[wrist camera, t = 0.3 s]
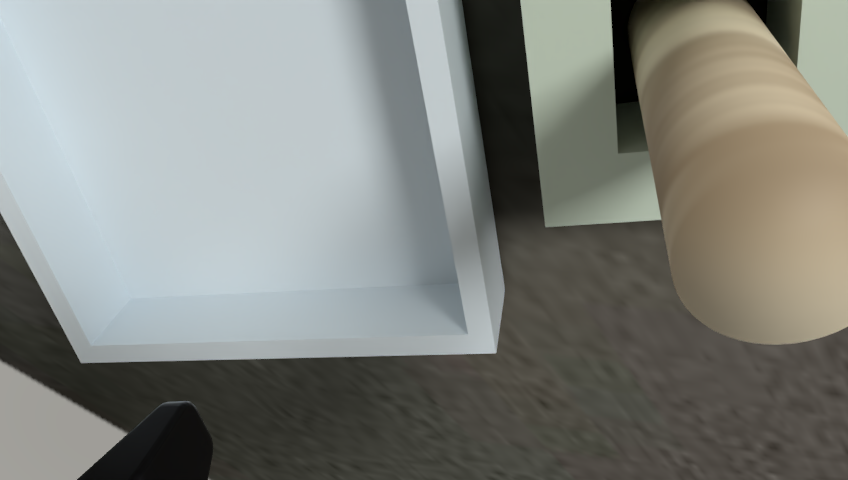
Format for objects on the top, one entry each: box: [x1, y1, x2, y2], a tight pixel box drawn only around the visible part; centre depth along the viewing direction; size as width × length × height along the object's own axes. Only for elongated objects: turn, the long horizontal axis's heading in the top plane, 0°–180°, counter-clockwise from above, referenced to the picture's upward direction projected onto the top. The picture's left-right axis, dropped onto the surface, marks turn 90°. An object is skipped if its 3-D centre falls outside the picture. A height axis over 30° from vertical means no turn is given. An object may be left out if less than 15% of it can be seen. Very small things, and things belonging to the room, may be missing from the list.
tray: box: [0, 0, 505, 363], centre depth 23 cm, size 16×16×4 cm
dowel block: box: [520, 0, 848, 227], centre depth 19 cm, size 8×8×4 cm
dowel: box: [627, 0, 848, 345], centre depth 16 cm, size 3×3×12 cm
